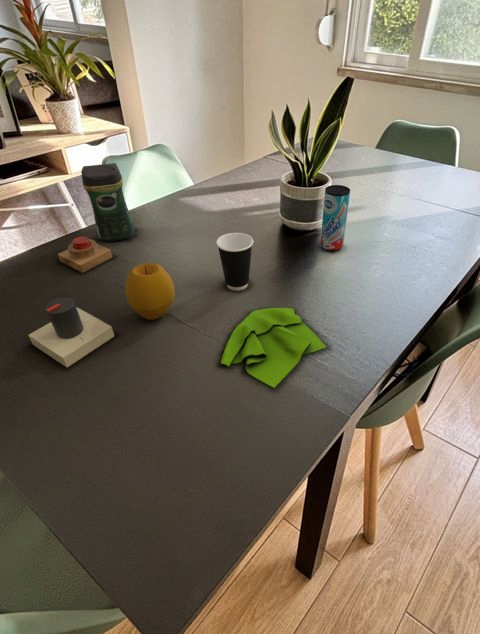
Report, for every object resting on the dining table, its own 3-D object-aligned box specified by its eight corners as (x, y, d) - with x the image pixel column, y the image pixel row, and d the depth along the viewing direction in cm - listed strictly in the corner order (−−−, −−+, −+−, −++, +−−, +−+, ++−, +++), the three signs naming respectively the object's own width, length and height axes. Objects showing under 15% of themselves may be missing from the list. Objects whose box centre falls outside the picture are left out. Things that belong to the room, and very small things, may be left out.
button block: (60, 261, 106) (54, 247, 104) (90, 247, 112) (85, 233, 109) (82, 273, 102) (77, 258, 100) (112, 257, 108) (108, 243, 105)
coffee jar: (134, 226, 120) (119, 158, 108) (135, 239, 114) (119, 168, 102) (99, 231, 118) (79, 161, 106) (98, 244, 113) (77, 172, 100)
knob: (73, 319, 85) (63, 293, 81) (89, 328, 82) (79, 302, 78) (51, 332, 82) (39, 305, 78) (66, 342, 80) (54, 315, 75)
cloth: (294, 302, 93) (294, 293, 91) (342, 369, 77) (343, 359, 76) (203, 323, 87) (201, 314, 86) (234, 399, 72) (234, 389, 71)
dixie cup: (213, 288, 97) (208, 244, 90) (232, 272, 102) (229, 229, 95) (242, 298, 94) (240, 253, 87) (261, 281, 99) (260, 237, 92)
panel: (32, 344, 83) (27, 334, 81) (80, 316, 90) (76, 306, 88) (67, 367, 78) (62, 357, 76) (114, 336, 85) (111, 325, 83)
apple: (165, 333, 85) (155, 284, 77) (122, 324, 87) (108, 275, 80) (186, 305, 92) (178, 257, 84) (146, 298, 94) (134, 250, 86)
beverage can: (315, 246, 111) (319, 189, 101) (330, 239, 114) (336, 182, 104) (332, 254, 108) (338, 196, 98) (347, 247, 111) (355, 190, 101)
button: (71, 247, 104) (69, 241, 103) (84, 241, 106) (82, 235, 105) (80, 251, 103) (78, 245, 101) (93, 245, 105) (91, 239, 104)
